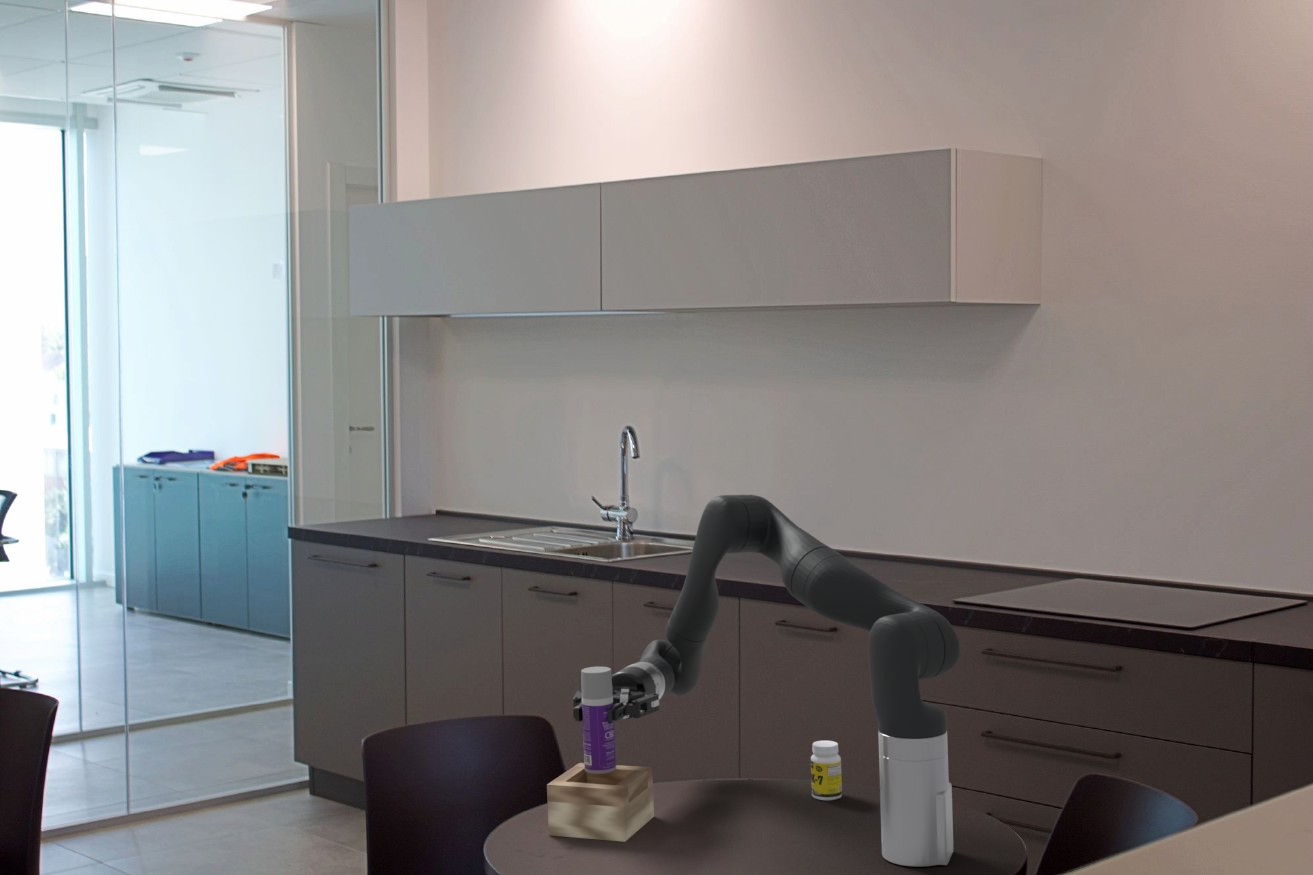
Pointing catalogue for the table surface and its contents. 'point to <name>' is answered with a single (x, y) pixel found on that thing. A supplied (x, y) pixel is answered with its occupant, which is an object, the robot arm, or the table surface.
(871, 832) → the table surface
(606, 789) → the wooden open tray
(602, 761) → the container
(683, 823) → the table surface
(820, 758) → the supplement bottle
